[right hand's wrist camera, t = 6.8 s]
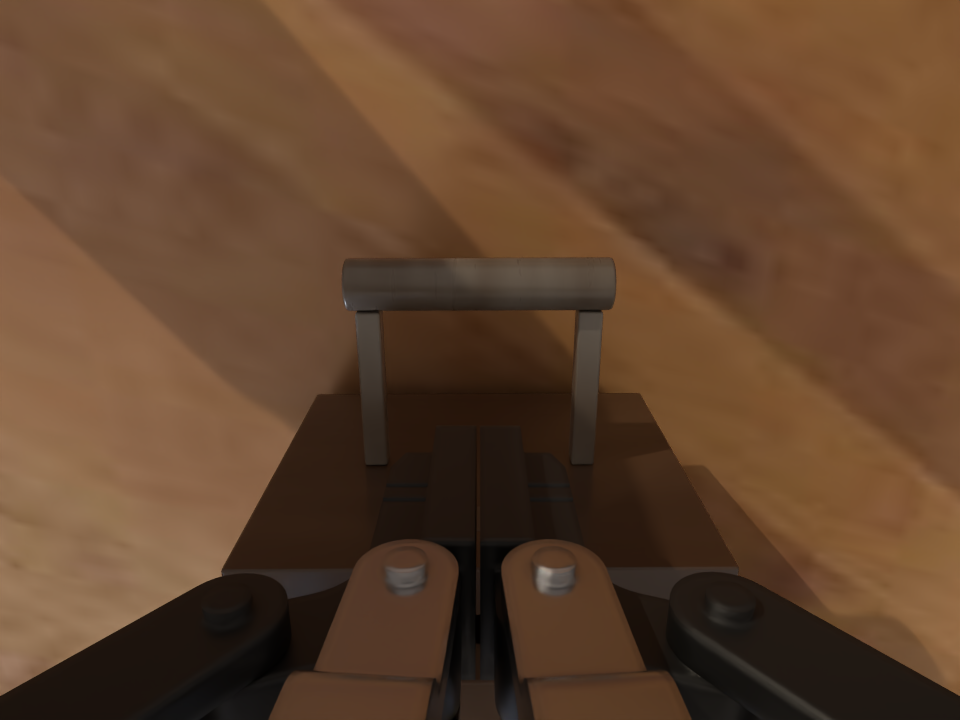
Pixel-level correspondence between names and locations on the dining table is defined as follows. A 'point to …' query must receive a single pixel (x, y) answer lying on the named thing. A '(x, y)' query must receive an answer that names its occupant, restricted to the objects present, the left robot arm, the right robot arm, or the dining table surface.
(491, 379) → the dining table surface
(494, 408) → the drawer
